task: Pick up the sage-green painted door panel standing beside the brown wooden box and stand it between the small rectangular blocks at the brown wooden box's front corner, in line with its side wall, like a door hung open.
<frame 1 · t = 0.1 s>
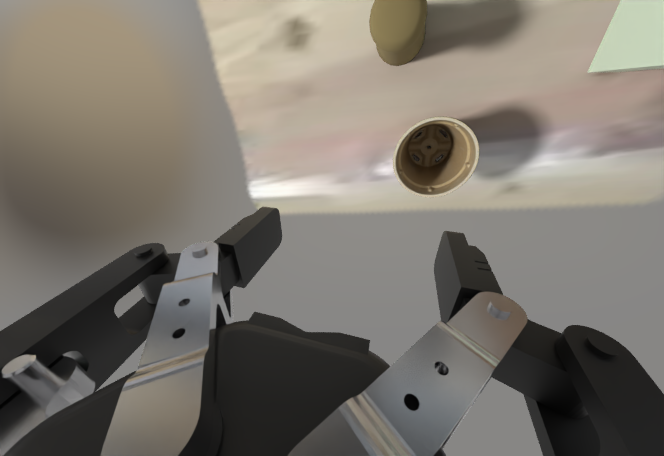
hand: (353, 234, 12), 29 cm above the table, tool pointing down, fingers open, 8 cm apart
door panel: (632, 13, 24), on the table
cork: (399, 37, 30), on the table
flower pot: (428, 145, 35), on the table
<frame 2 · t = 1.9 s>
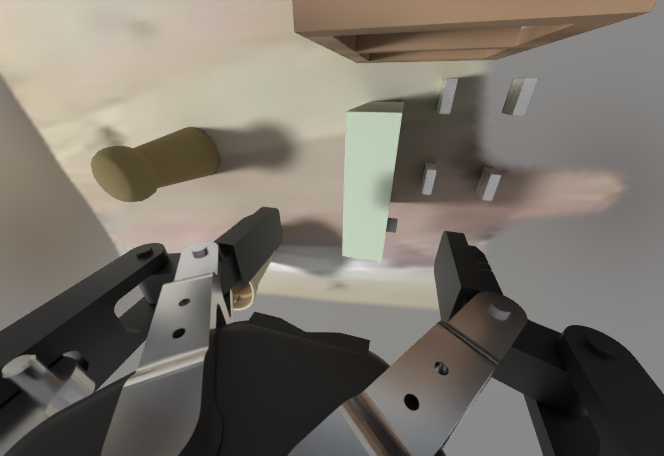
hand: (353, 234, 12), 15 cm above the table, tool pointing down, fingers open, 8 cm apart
door panel: (381, 156, 24), on the table
cork: (199, 152, 30), on the table
flower pot: (257, 242, 35), on the table
small rectangular blocks: (465, 139, 22), on the table
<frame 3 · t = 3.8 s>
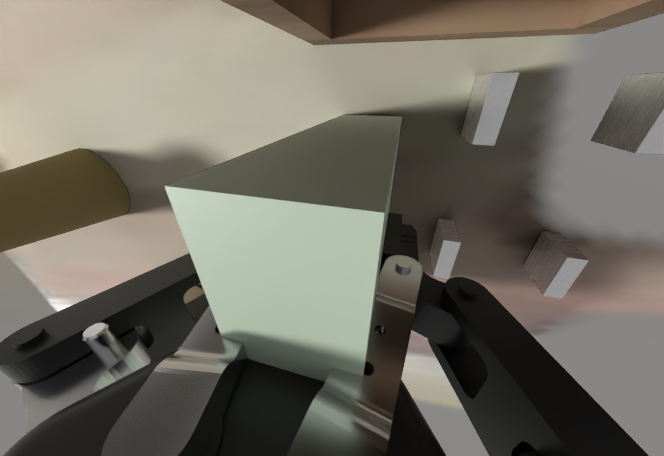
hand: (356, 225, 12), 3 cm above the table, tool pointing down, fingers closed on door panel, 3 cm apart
door panel: (364, 204, 15), on the table, touching gripper
cork: (101, 183, 21), on the table
small rectangular blocks: (512, 185, 12), on the table
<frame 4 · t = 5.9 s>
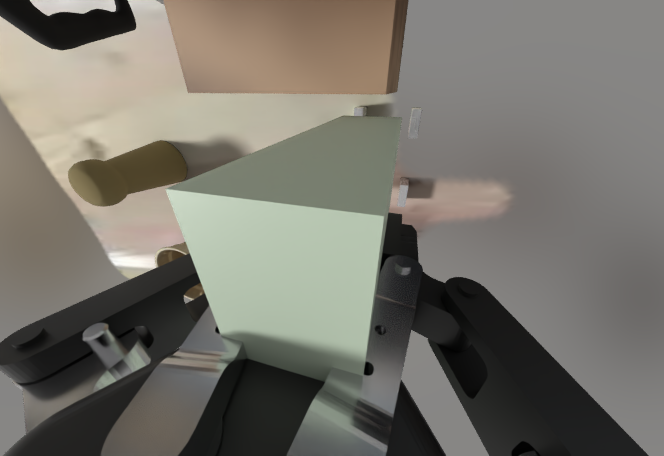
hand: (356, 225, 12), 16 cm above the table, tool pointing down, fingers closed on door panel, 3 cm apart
door panel: (364, 205, 15), point 13 cm above the table, touching gripper
cork: (169, 161, 34), on the table
brown wooden box: (342, 27, 21), on the table
flower pot: (225, 242, 39), on the table
small rectangular blocks: (383, 155, 26), on the table
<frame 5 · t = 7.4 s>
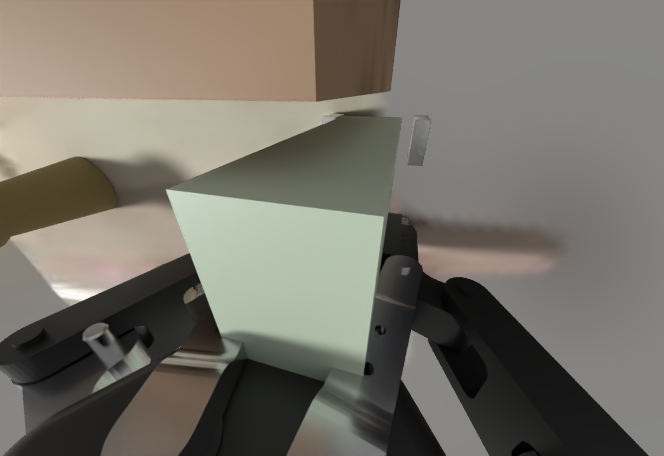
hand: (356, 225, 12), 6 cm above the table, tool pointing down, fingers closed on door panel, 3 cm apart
door panel: (364, 205, 15), point 3 cm above the table, touching gripper
cork: (94, 183, 26), on the table
small rectangular blocks: (371, 184, 17), on the table
when the fingers open (4 cm above the table, at t = 8.2 s): door panel drops 1 cm, on the table.
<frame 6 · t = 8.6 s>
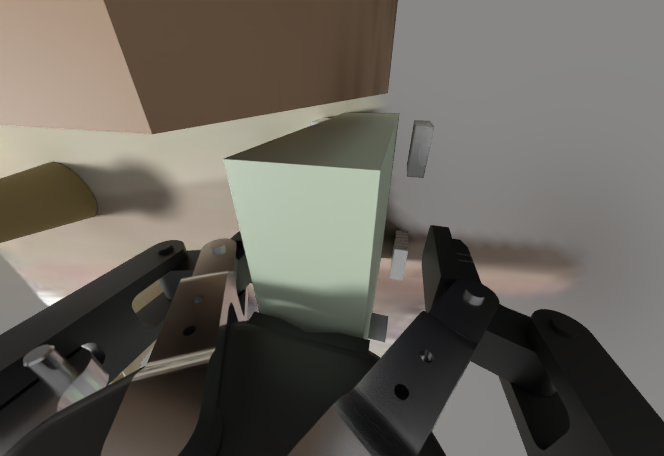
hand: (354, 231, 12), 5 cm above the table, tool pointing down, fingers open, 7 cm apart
door panel: (366, 195, 16), on the table
cork: (73, 190, 24), on the table
flower pot: (165, 292, 30), on the table
small rectangular blocks: (367, 195, 16), on the table
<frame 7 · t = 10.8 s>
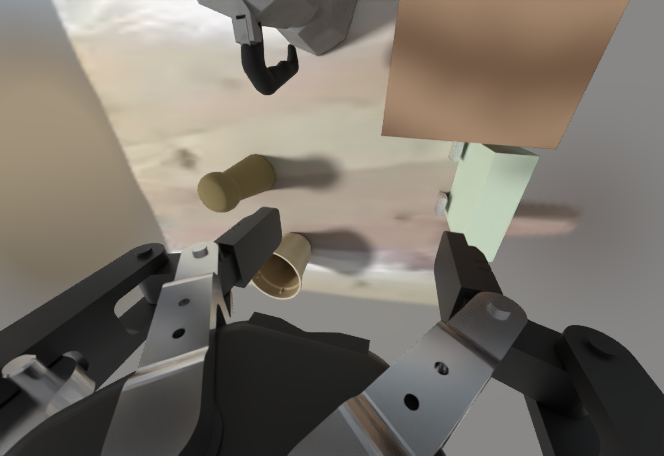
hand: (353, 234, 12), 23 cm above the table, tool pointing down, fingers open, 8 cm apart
door panel: (467, 177, 30), on the table
cork: (259, 173, 38), on the table
brown wooden box: (452, 73, 25), on the table
coffeepot: (317, 18, 27), on the table
flower pot: (296, 246, 43), on the table
small rectangular blocks: (468, 177, 30), on the table
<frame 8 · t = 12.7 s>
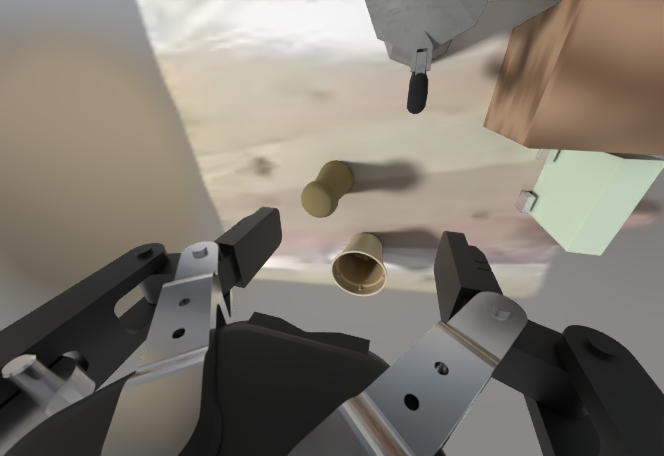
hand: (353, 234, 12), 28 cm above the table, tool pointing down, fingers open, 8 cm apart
door panel: (552, 176, 32), on the table
cork: (336, 177, 40), on the table
brown wooden box: (550, 81, 27), on the table
coffeepot: (418, 33, 28), on the table
flower pot: (365, 245, 46), on the table
small rectangular blocks: (553, 177, 32), on the table
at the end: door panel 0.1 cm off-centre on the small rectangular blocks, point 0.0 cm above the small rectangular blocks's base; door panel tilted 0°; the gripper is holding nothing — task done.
